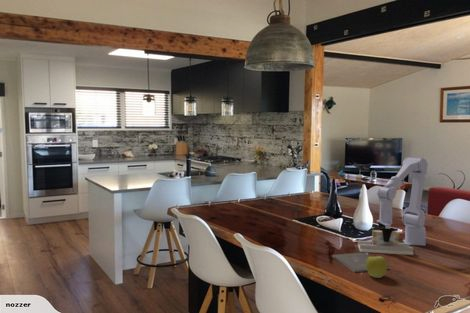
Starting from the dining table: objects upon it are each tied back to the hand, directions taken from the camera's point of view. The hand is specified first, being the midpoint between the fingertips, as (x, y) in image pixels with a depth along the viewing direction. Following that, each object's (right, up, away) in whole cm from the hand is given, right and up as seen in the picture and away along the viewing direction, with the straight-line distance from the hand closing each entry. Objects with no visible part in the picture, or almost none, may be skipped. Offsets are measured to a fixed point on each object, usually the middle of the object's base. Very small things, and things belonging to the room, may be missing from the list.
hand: (385, 239), depth 198 cm
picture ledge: (0, -5, 0) cm, 5 cm away
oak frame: (0, -4, 0) cm, 4 cm away
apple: (-16, -8, -33) cm, 38 cm away
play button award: (-18, -7, -18) cm, 26 cm away
